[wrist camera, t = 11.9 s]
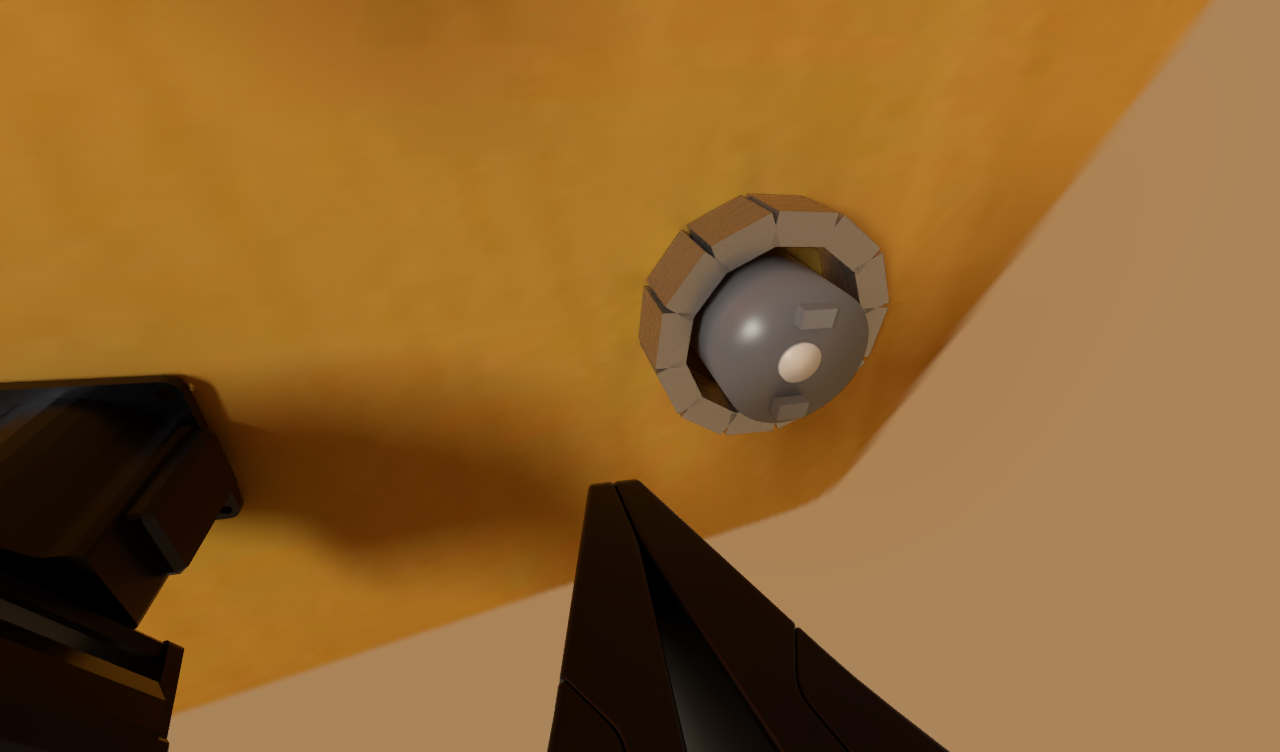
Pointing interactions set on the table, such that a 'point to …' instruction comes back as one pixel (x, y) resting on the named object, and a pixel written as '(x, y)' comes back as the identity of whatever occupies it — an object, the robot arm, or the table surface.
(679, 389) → the segmented ring
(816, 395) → the cap
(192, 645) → the table surface
